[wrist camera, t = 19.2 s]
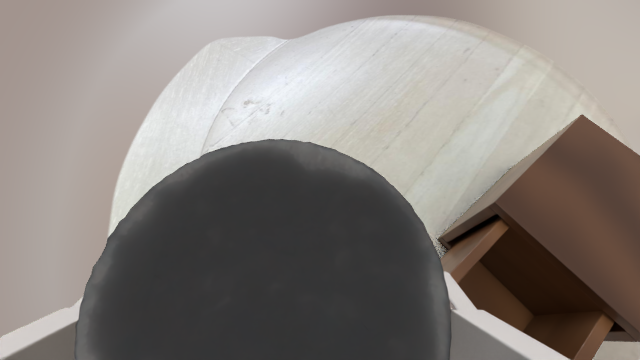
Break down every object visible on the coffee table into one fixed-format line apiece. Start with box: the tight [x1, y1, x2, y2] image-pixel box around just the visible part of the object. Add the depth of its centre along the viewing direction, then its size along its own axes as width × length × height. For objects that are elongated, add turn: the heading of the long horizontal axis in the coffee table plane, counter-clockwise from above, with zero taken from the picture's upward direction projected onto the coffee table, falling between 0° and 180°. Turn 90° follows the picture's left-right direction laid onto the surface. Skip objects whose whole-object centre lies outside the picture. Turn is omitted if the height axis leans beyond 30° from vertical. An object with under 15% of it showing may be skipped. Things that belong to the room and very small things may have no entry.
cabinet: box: [438, 115, 640, 342], centre depth 26 cm, size 14×12×10 cm
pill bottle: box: [74, 139, 452, 360], centre depth 9 cm, size 6×6×11 cm
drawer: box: [440, 217, 615, 360], centre depth 22 cm, size 17×10×8 cm, turn 130°
